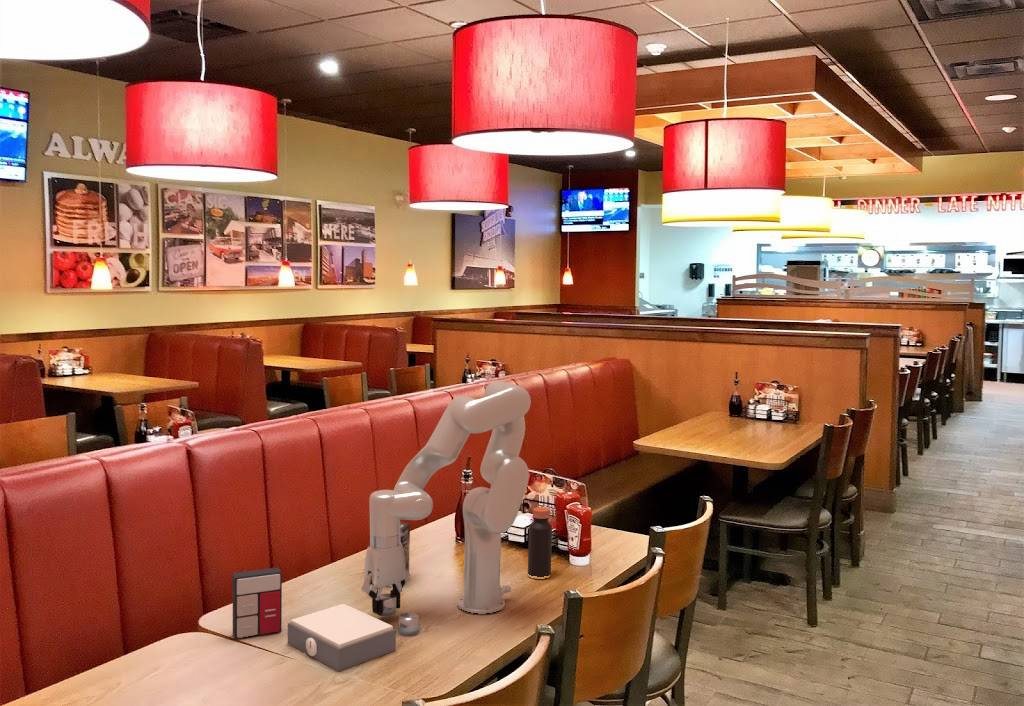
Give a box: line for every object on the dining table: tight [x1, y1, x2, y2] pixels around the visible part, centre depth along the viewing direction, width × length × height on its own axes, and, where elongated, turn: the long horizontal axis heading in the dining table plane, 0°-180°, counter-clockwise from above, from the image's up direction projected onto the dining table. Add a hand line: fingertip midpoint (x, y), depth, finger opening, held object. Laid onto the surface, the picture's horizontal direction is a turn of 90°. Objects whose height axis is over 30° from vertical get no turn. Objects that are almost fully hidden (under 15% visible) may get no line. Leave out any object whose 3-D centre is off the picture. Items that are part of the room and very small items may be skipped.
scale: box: [287, 603, 397, 672], centre depth 202 cm, size 17×20×6 cm
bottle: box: [527, 506, 553, 577], centre depth 254 cm, size 7×7×20 cm
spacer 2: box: [397, 612, 420, 637], centre depth 212 cm, size 5×5×4 cm
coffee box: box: [387, 522, 411, 588], centre depth 247 cm, size 9×6×16 cm
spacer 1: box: [376, 593, 398, 617], centre depth 219 cm, size 5×5×4 cm
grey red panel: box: [231, 567, 283, 639], centre depth 208 cm, size 11×4×15 cm, turn 117°
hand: (386, 609), depth 219 cm, fingers closed on spacer 1, 5 cm apart
